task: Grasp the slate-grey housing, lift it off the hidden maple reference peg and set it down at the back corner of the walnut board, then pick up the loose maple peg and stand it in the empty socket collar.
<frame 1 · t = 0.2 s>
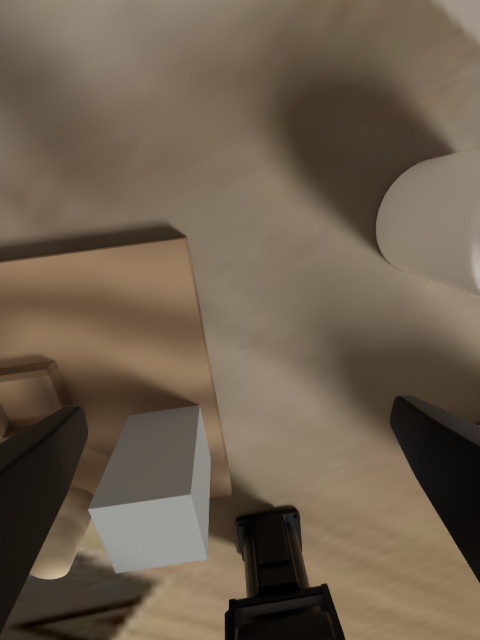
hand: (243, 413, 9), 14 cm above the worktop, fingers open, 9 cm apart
pill bottle: (427, 219, 21), on the worktop
board: (116, 393, 24), on the worktop
housing: (171, 437, 24), point 1 cm above the worktop, touching board
maple peg: (77, 501, 26), point 1 cm above the worktop, touching board
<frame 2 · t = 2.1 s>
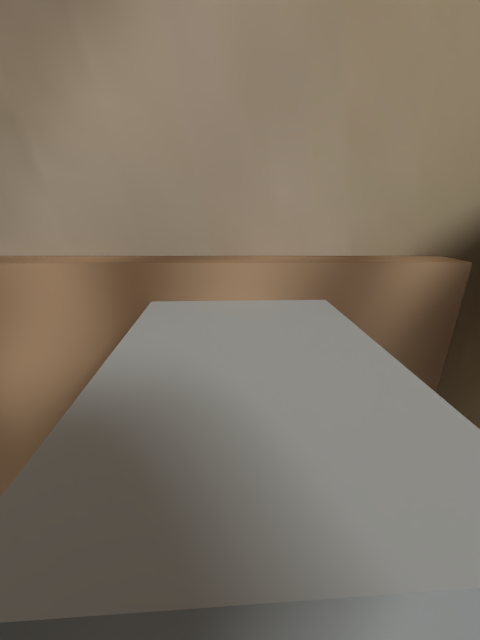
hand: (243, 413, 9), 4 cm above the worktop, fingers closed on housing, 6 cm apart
board: (145, 440, 13), on the worktop
housing: (239, 376, 10), point 1 cm above the worktop, touching board, gripper
when the fingers open (4 cm above the worktop, at t = 5.9 s): housing stays where it is, resting on board.
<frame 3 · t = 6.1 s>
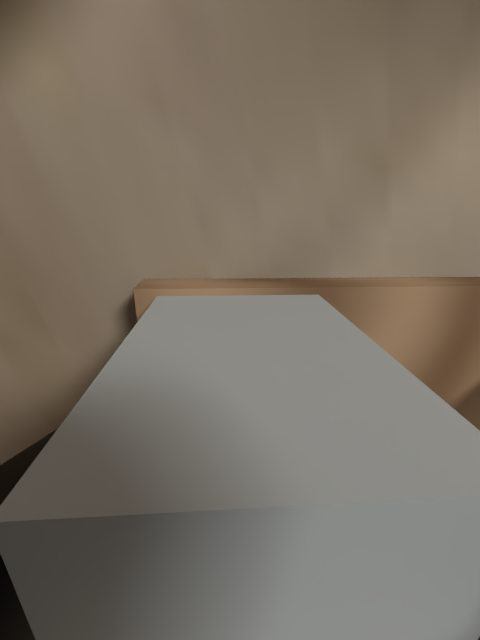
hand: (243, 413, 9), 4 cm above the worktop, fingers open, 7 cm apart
board: (395, 435, 15), on the worktop
housing: (238, 367, 11), point 1 cm above the worktop, touching board
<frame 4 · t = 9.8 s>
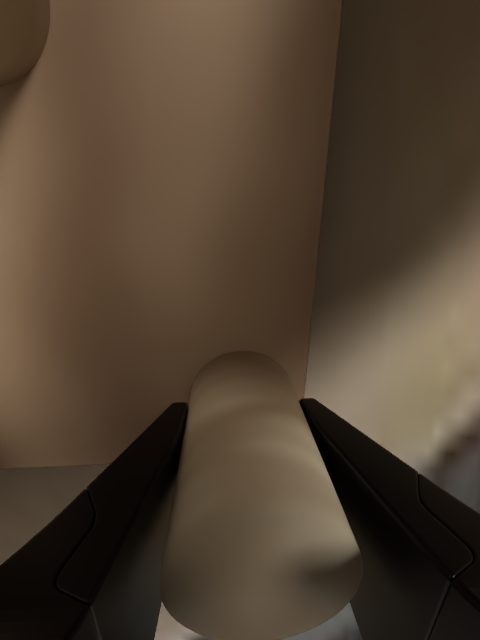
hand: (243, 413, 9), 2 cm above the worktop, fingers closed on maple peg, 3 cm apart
maple peg: (241, 396, 9), point 1 cm above the worktop, touching board, gripper
when the fingers open (3 cm above the worktop, at t = 13.2 s): maple peg stays where it is, resting on board.
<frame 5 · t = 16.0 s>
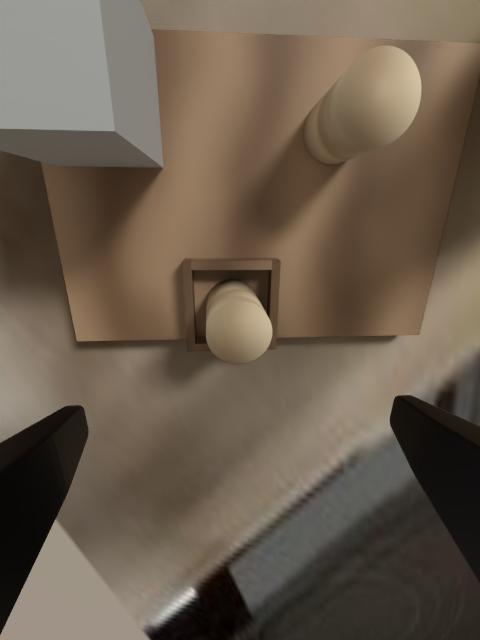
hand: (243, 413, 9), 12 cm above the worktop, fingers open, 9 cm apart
reference peg: (333, 131, 16), resting on board
board: (254, 210, 18), on the worktop
housing: (102, 104, 15), point 1 cm above the worktop, touching board
maple peg: (231, 303, 19), point 2 cm above the worktop, touching board
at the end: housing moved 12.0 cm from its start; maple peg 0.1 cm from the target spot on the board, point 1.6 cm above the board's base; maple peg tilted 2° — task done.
